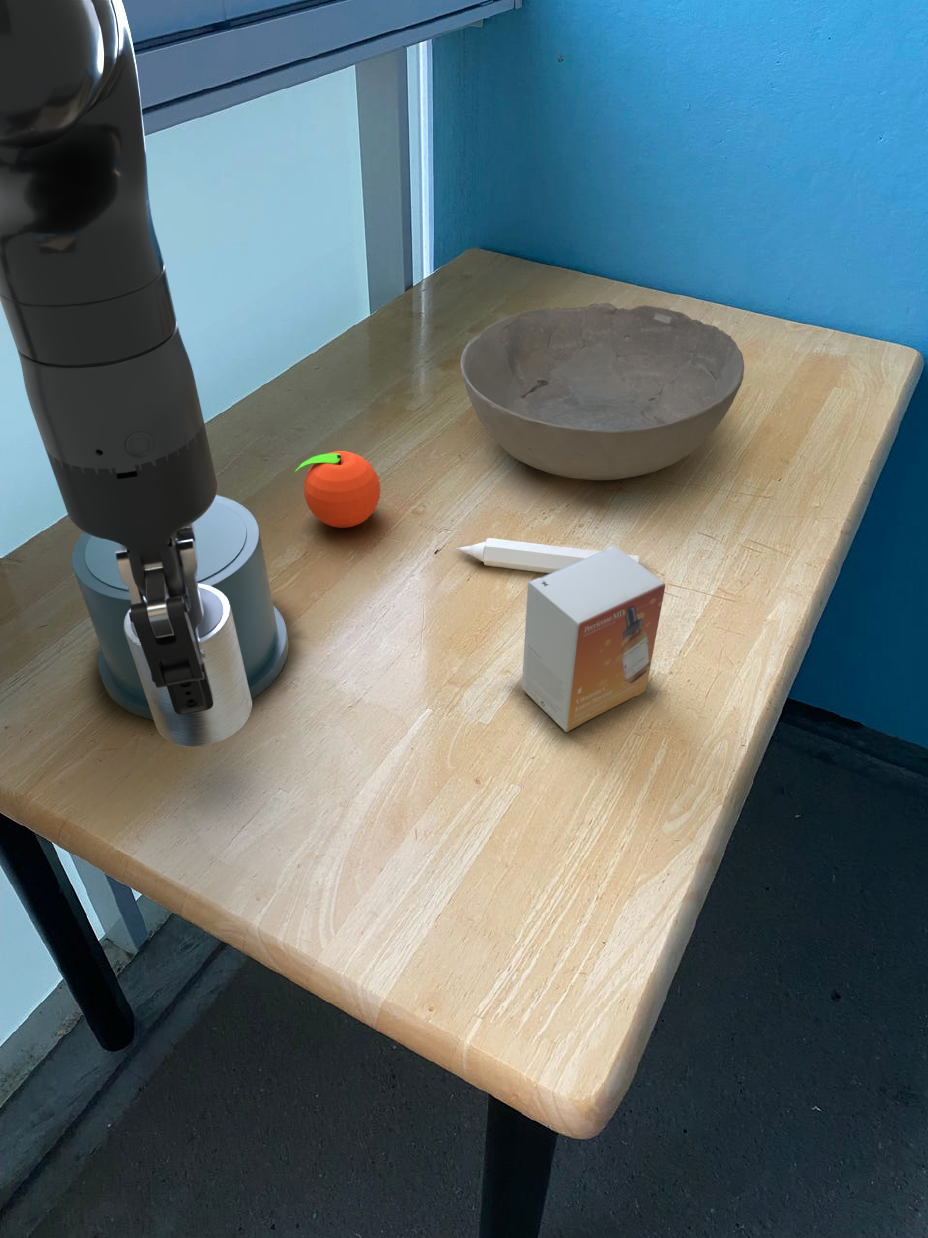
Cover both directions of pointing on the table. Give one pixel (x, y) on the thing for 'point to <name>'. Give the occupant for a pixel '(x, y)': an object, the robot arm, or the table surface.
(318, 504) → the clementine
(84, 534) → the blue flanged cylinder
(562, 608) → the small box
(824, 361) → the table surface
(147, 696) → the cup
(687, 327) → the bowl
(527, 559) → the white pencil
